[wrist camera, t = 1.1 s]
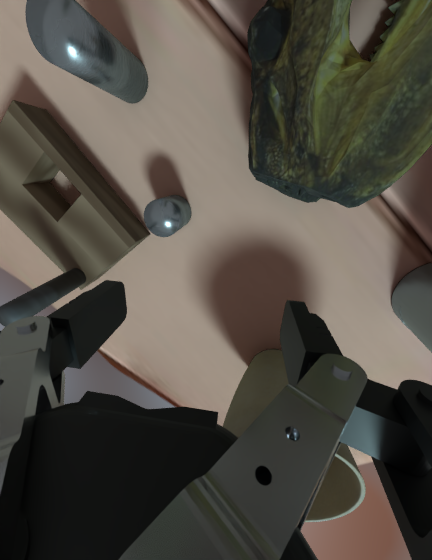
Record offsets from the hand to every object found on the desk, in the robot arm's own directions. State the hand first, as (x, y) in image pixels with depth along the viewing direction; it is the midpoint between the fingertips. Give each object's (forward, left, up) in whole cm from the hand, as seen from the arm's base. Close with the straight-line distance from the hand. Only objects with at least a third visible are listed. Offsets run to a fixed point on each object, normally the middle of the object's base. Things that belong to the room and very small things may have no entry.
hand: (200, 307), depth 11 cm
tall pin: (0, -19, -20) cm, 27 cm away
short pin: (+5, -6, -20) cm, 21 cm away
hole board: (+16, -15, -19) cm, 29 cm away
